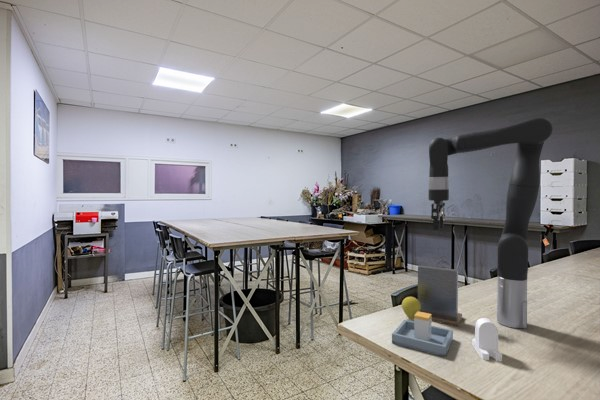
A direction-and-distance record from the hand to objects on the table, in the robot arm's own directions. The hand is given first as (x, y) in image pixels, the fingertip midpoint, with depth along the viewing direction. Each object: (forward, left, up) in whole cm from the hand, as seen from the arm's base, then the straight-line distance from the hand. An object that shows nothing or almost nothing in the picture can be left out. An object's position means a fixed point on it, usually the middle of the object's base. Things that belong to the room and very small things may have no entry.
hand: (438, 228), depth 130 cm
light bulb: (+6, +17, -34) cm, 39 cm away
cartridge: (-1, +29, -33) cm, 44 cm away
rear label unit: (-1, +5, -34) cm, 34 cm away
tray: (-1, +29, -34) cm, 45 cm away
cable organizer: (-19, +26, -34) cm, 47 cm away
